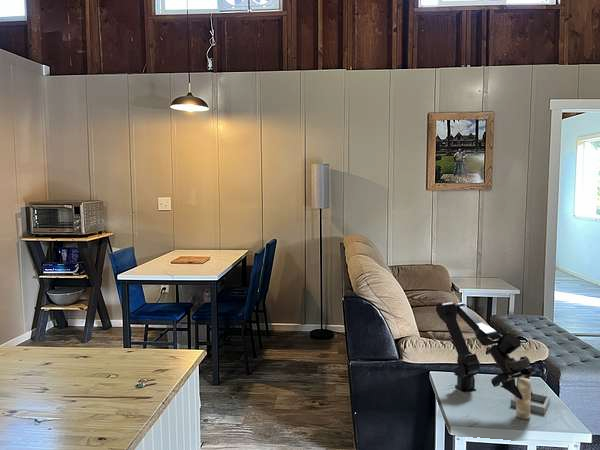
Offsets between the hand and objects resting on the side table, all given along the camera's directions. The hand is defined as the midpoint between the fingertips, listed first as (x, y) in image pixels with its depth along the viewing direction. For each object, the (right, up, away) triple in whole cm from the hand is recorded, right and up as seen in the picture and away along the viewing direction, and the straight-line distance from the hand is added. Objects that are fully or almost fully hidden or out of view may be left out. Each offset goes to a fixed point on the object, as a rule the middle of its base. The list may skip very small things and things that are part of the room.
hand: (526, 397), depth 169 cm
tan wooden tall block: (-1, -8, +2) cm, 8 cm away
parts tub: (+7, -7, +12) cm, 16 cm away
